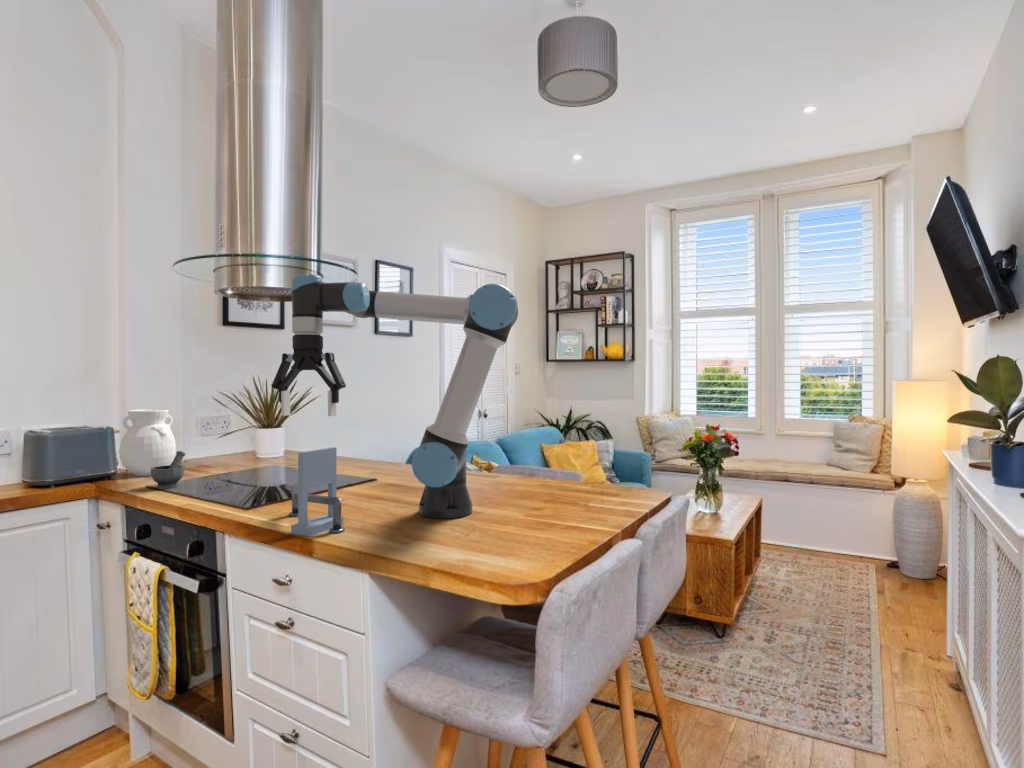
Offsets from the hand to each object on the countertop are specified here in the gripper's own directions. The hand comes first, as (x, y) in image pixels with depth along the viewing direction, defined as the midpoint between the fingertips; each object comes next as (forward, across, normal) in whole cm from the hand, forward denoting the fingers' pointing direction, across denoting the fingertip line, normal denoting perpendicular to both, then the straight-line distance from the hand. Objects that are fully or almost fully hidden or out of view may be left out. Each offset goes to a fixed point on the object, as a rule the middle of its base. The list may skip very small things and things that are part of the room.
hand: (308, 415), depth 148 cm
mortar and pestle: (+28, +74, -30) cm, 85 cm away
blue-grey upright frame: (+28, -5, +4) cm, 29 cm away
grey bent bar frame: (+28, -1, -1) cm, 28 cm away
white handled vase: (+27, +103, -49) cm, 117 cm away
